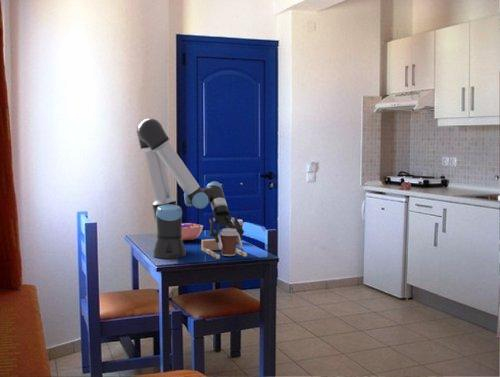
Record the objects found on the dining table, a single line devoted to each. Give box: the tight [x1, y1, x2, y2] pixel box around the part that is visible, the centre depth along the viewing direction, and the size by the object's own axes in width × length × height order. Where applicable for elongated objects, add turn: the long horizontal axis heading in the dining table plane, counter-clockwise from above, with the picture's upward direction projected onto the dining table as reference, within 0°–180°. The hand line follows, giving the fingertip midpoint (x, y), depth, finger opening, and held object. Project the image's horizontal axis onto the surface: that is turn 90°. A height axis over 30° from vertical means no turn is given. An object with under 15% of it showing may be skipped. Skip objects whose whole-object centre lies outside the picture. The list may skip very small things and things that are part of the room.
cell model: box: [182, 222, 204, 242], centre depth 317 cm, size 17×20×11 cm
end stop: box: [200, 238, 222, 252], centre depth 293 cm, size 3×15×5 cm, turn 113°
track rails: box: [202, 247, 248, 260], centre depth 282 cm, size 20×15×2 cm
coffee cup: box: [218, 227, 239, 257], centre depth 276 cm, size 9×9×12 cm
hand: (231, 247), depth 274 cm, fingers closed on coffee cup, 9 cm apart
